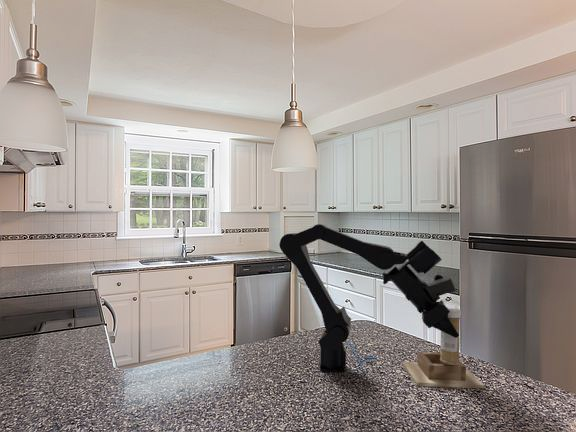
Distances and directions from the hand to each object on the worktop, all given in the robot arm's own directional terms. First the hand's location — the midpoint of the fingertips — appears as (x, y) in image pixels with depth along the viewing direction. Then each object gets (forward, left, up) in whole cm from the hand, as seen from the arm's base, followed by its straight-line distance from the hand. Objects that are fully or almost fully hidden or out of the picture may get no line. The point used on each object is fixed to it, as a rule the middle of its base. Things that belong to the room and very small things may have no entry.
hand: (455, 333), depth 91 cm
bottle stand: (-2, +4, -12) cm, 13 cm away
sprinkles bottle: (-1, 0, -7) cm, 8 cm away
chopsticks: (-20, +15, -13) cm, 28 cm away
